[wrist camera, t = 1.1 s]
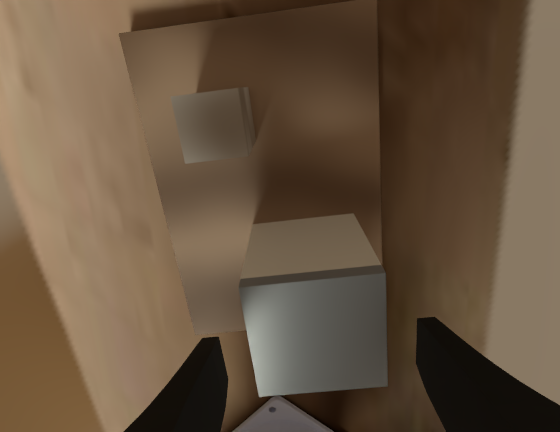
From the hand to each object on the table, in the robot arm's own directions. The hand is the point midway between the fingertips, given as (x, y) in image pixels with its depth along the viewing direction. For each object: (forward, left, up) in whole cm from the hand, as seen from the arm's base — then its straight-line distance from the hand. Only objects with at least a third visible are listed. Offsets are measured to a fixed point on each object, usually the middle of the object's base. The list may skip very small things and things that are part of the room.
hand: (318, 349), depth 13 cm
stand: (+2, +4, -8) cm, 9 cm away
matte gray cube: (0, 0, -7) cm, 6 cm away
